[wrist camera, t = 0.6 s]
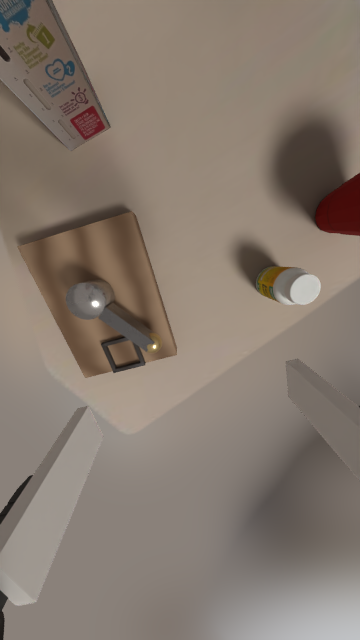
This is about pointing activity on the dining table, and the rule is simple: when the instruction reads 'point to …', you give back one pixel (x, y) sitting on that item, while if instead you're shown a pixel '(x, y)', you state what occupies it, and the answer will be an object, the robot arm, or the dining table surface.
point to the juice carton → (48, 71)
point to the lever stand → (117, 270)
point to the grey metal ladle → (109, 313)
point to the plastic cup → (341, 209)
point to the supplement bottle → (288, 285)
